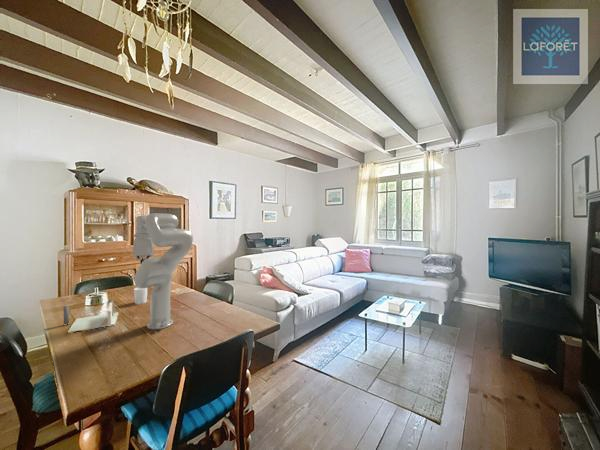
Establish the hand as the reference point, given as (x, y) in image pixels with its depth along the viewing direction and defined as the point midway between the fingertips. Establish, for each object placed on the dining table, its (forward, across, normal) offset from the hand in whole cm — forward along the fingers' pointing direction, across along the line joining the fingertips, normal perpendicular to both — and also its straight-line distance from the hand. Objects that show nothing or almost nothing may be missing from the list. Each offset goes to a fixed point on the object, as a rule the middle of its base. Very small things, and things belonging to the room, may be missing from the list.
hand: (143, 266), depth 146 cm
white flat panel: (+28, -14, -9) cm, 32 cm away
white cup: (+29, -5, +24) cm, 38 cm away
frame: (+29, -24, -5) cm, 38 cm away
